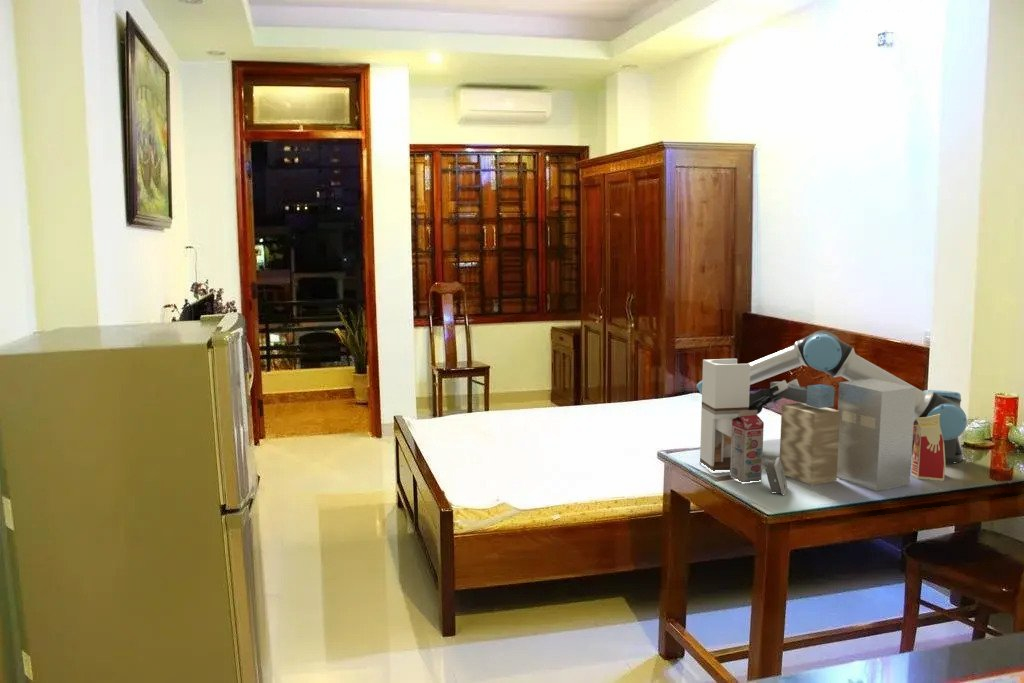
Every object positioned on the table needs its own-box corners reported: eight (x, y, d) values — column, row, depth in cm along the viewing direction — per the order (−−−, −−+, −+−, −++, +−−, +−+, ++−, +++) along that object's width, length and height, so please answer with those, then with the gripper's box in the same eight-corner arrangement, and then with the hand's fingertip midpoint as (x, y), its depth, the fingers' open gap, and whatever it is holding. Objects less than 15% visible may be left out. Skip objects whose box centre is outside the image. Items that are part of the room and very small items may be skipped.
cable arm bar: (767, 394, 261) (768, 376, 260) (781, 392, 264) (782, 375, 263) (818, 408, 241) (819, 388, 240) (833, 406, 244) (834, 386, 243)
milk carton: (939, 472, 255) (944, 411, 252) (945, 481, 246) (950, 417, 243) (907, 470, 257) (912, 409, 254) (912, 478, 249) (917, 416, 246)
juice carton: (730, 478, 250) (732, 409, 247) (748, 475, 253) (750, 407, 250) (743, 484, 244) (745, 413, 241) (761, 481, 246) (764, 411, 243)
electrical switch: (785, 496, 233) (783, 465, 232) (766, 496, 235) (764, 465, 234) (787, 487, 242) (785, 457, 241) (769, 486, 244) (767, 456, 243)
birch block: (778, 472, 256) (781, 405, 253) (802, 468, 260) (805, 402, 257) (811, 485, 243) (815, 414, 240) (836, 480, 247) (840, 410, 244)
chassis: (833, 476, 252) (838, 382, 248) (866, 470, 257) (872, 378, 253) (875, 491, 237) (881, 391, 233) (909, 484, 243) (916, 387, 239)
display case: (712, 473, 255) (716, 365, 250) (699, 463, 266) (702, 359, 261) (746, 471, 257) (750, 363, 252) (732, 462, 267) (736, 358, 262)
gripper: (769, 414, 277) (815, 392, 257) (730, 419, 270) (774, 397, 250) (763, 394, 280) (808, 370, 260) (723, 398, 273) (767, 374, 253)
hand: (791, 383), depth 255 cm, fingers closed on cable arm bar, 4 cm apart
